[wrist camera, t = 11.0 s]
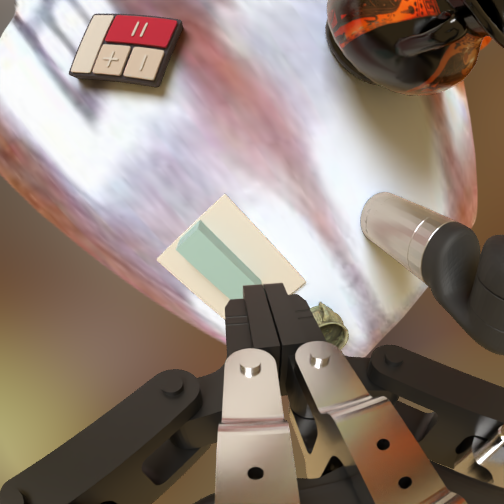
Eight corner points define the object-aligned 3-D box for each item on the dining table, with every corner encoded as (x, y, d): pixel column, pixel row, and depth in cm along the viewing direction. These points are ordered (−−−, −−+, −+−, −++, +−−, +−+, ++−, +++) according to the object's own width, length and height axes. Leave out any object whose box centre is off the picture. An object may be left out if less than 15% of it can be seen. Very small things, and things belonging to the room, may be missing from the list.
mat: (304, 279, 48) (305, 281, 47) (240, 329, 50) (240, 332, 50) (225, 193, 41) (225, 194, 40) (157, 257, 43) (156, 259, 42)
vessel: (295, 298, 49) (304, 319, 43) (340, 292, 50) (353, 310, 44) (293, 347, 54) (301, 369, 48) (334, 340, 54) (345, 360, 49)
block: (264, 293, 42) (197, 228, 37) (243, 310, 42) (175, 249, 38) (260, 279, 46) (200, 219, 41) (240, 296, 47) (179, 239, 42)
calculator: (155, 83, 30) (65, 74, 26) (160, 88, 34) (77, 78, 30) (182, 17, 27) (91, 11, 23) (184, 28, 31) (100, 20, 27)
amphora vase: (347, -23, 27) (434, -95, 1) (431, 55, 33) (546, 39, 8) (281, 40, 32) (363, -67, 6) (383, 126, 39) (527, 139, 13)
